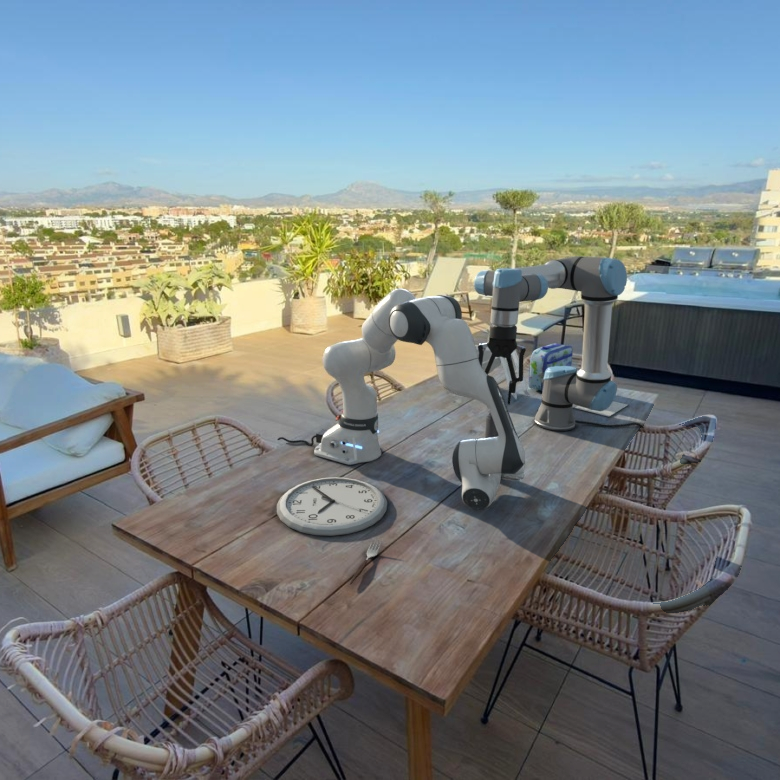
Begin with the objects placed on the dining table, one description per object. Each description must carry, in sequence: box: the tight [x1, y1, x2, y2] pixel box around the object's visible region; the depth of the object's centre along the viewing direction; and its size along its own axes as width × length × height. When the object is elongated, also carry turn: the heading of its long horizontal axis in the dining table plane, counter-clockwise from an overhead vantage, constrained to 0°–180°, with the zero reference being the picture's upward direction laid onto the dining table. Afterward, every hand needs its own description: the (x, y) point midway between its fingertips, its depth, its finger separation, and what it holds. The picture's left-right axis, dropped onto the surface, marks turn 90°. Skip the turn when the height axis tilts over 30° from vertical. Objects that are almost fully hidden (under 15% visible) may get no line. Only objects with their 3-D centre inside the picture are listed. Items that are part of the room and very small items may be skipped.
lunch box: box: [528, 343, 574, 392], centre depth 249 cm, size 26×11×21 cm, turn 134°
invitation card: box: [573, 400, 629, 418], centre depth 226 cm, size 21×1×15 cm
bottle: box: [484, 410, 499, 438], centre depth 158 cm, size 6×6×25 cm
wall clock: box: [276, 476, 388, 537], centre depth 142 cm, size 30×2×30 cm
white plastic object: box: [476, 345, 531, 400], centre depth 245 cm, size 37×45×31 cm
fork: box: [349, 538, 383, 585], centre depth 117 cm, size 3×16×2 cm, turn 160°
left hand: (493, 455), depth 161 cm, fingers closed on bottle, 5 cm apart
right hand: (497, 401), depth 155 cm, fingers open, 6 cm apart
